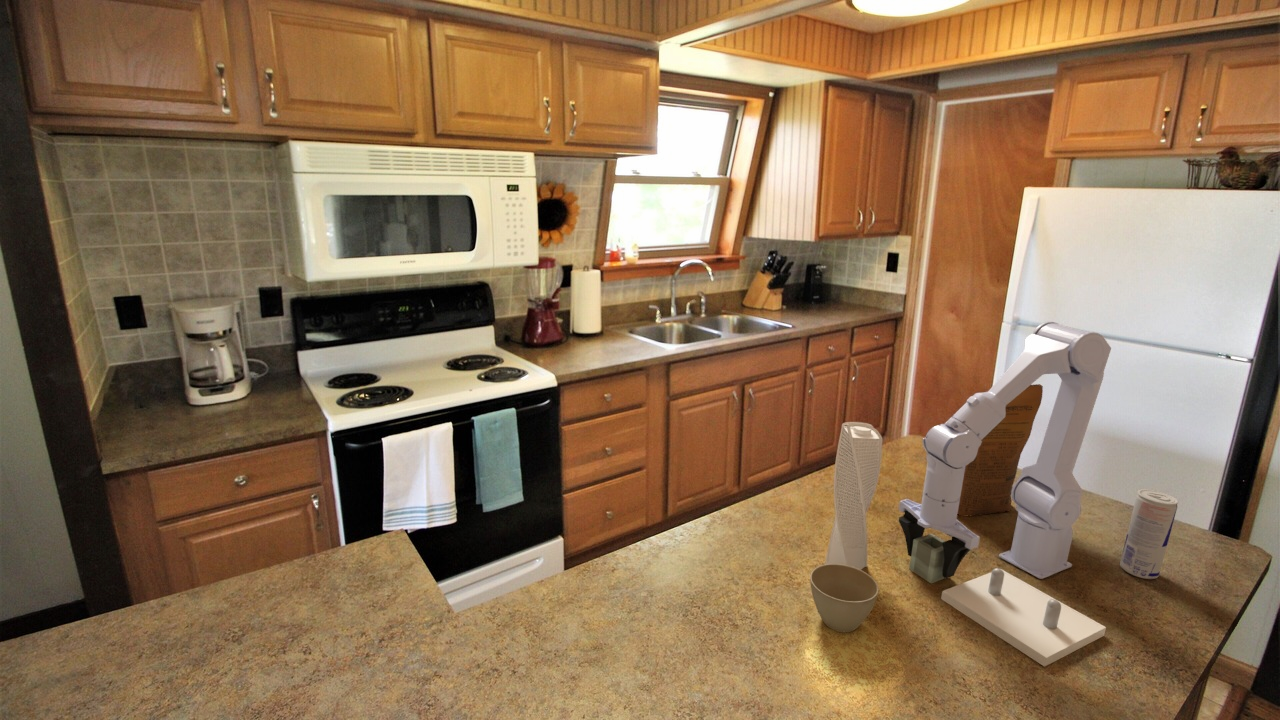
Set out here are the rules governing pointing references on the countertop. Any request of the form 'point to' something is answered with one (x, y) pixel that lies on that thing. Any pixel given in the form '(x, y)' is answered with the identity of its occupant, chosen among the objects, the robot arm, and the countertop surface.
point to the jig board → (1023, 616)
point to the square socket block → (928, 558)
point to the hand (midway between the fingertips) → (930, 564)
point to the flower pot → (843, 595)
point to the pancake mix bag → (999, 457)
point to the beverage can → (1148, 533)
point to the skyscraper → (854, 492)
